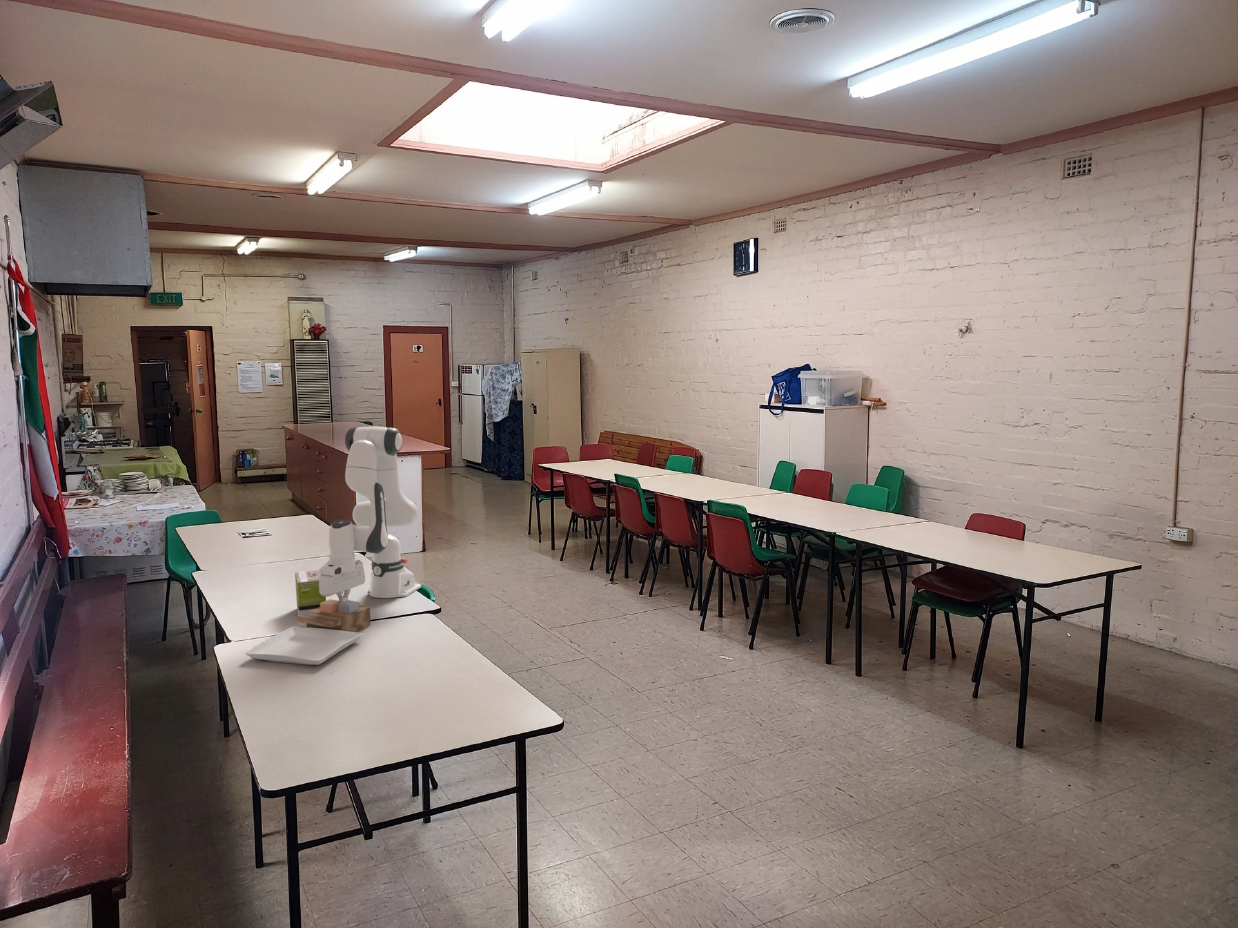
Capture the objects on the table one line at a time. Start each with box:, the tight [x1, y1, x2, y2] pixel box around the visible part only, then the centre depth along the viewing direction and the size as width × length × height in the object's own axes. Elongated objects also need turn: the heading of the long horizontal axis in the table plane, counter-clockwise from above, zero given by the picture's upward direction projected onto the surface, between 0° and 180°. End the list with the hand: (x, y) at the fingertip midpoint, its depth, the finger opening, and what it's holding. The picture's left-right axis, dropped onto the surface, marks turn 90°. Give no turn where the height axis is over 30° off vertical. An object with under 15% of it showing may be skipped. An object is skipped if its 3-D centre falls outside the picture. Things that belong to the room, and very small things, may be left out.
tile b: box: [338, 599, 360, 614], centre depth 291 cm, size 5×5×3 cm
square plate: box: [244, 626, 363, 666], centre depth 271 cm, size 27×27×4 cm
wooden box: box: [296, 604, 371, 633], centre depth 291 cm, size 19×16×7 cm
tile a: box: [320, 598, 341, 613], centre depth 292 cm, size 5×5×3 cm
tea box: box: [294, 569, 327, 616], centre depth 310 cm, size 15×10×15 cm, turn 25°
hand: (343, 601), depth 298 cm, fingers closed
